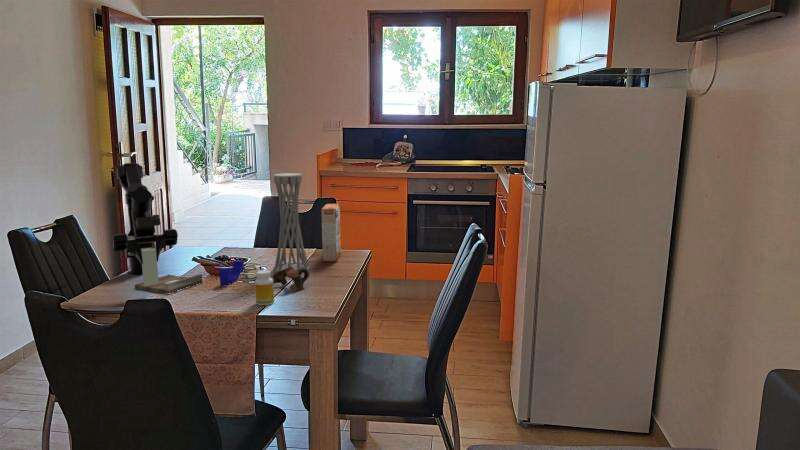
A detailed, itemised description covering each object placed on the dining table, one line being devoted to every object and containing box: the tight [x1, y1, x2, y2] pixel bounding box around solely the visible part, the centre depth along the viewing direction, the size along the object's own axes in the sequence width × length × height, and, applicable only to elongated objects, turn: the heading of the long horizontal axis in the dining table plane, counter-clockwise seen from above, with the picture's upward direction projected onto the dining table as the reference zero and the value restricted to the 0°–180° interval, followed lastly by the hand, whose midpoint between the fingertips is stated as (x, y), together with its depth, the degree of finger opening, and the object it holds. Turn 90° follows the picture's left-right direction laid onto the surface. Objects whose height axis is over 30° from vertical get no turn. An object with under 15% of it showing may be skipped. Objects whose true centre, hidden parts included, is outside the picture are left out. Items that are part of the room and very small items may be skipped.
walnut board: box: [134, 273, 203, 294], centre depth 198 cm, size 16×14×3 cm
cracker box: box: [321, 203, 342, 263], centre depth 234 cm, size 14×6×21 cm, turn 179°
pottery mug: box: [271, 266, 310, 293], centre depth 194 cm, size 12×10×8 cm
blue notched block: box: [218, 259, 245, 286], centre depth 203 cm, size 12×4×6 cm, turn 170°
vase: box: [272, 172, 311, 274], centre depth 215 cm, size 14×13×35 cm
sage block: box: [141, 246, 159, 286], centre depth 185 cm, size 4×4×11 cm
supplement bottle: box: [254, 269, 275, 306], centre depth 177 cm, size 5×5×10 cm
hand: (149, 262), depth 184 cm, fingers closed on sage block, 4 cm apart
